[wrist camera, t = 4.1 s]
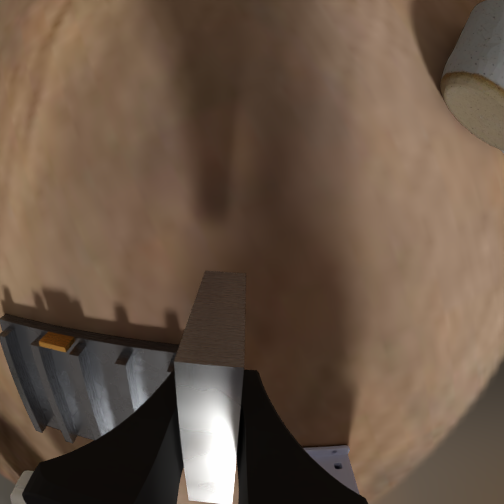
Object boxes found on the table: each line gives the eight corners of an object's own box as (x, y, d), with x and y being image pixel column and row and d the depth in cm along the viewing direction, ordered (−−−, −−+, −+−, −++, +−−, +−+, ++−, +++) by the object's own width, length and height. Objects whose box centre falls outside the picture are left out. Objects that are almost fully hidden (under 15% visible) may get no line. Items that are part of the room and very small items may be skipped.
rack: (199, 346, 21) (194, 368, 19) (202, 451, 24) (199, 472, 22) (5, 313, 20) (-11, 327, 18) (40, 415, 24) (30, 430, 21)
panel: (245, 273, 13) (244, 367, 7) (236, 403, 15) (232, 504, 9) (205, 270, 13) (174, 361, 7) (204, 400, 15) (188, 500, 9)
